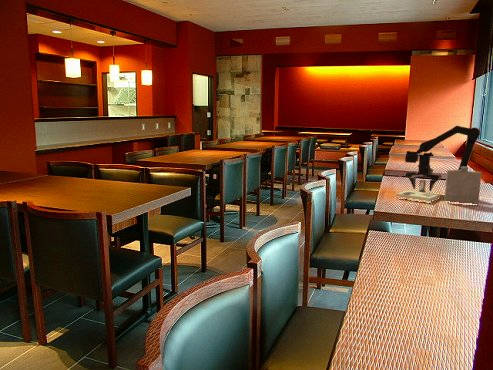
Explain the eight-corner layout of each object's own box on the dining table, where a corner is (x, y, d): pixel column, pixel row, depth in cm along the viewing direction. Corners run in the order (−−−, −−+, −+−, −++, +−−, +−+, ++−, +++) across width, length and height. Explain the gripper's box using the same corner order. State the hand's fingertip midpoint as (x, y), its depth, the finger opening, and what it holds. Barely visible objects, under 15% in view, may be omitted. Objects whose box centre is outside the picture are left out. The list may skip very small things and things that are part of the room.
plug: (426, 193, 245) (427, 180, 244) (423, 194, 243) (424, 180, 242) (420, 192, 248) (421, 179, 246) (417, 193, 245) (418, 180, 244)
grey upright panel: (477, 205, 219) (481, 167, 216) (478, 206, 216) (482, 168, 212) (444, 202, 226) (447, 165, 222) (444, 203, 222) (447, 166, 218)
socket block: (439, 200, 231) (440, 194, 230) (429, 204, 221) (429, 197, 220) (407, 195, 243) (407, 189, 243) (396, 198, 234) (396, 193, 233)
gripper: (446, 163, 241) (443, 190, 244) (414, 161, 254) (412, 186, 257) (438, 165, 234) (436, 193, 236) (406, 162, 246) (404, 188, 249)
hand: (422, 190), depth 245 cm, fingers open, 9 cm apart
